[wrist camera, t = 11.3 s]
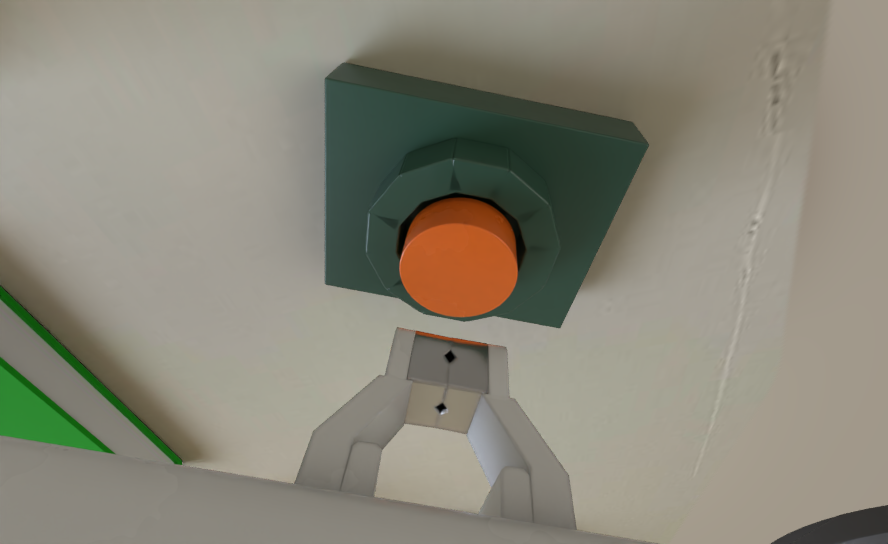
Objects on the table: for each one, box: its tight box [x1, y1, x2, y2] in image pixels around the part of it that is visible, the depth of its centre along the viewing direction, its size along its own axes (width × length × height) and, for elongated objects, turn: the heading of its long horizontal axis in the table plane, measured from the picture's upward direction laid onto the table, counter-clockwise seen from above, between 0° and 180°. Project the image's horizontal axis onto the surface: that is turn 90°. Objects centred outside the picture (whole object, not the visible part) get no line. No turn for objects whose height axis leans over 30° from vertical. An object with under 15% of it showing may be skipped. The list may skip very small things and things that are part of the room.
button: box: [399, 197, 518, 317], centre depth 15 cm, size 4×4×2 cm
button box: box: [325, 63, 649, 328], centre depth 17 cm, size 11×9×4 cm
